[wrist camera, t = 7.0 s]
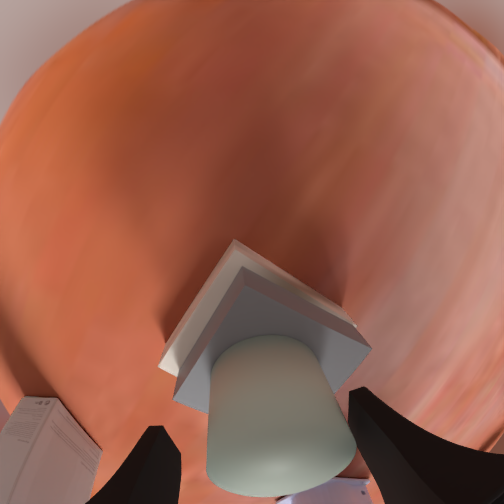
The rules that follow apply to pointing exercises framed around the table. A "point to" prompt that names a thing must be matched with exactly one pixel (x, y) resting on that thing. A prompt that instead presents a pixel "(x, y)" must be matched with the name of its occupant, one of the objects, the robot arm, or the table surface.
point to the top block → (268, 323)
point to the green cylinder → (274, 420)
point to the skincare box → (46, 455)
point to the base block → (217, 288)
